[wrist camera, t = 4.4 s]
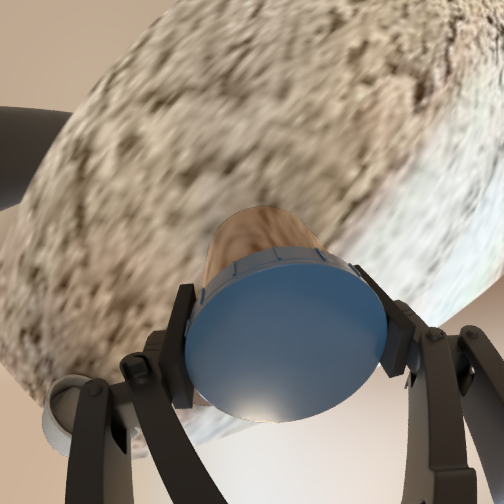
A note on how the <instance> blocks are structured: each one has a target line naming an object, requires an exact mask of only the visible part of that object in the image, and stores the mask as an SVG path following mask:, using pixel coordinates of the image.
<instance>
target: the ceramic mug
mask: <svg viewBox="0 0 504 504" xmlns="http://www.w3.org/2000/svg"><path fill="white" fill-rule="evenodd" d="M89 380H91V378H89V377H86V376H83V375H75V374H71V375H65V376H62V377H60V378H59V379H57V380H56V381H54V382H53V384H52V385H51V386H50V388H49V390H48V392H47V395H46V401H45V405H44V411H43V415H42V428H43V432H44V435H45V437H46V439H47V441H48V443H49V444H50V445H51V446H52V448H53V449H55V450H56V451H57V452H58V453H60V454H61V455H63V456H66V457H68V458H69V452H70V445H71V438H72V431H73V425H74V419H75V414H76V408H77V403H78V398H79V393H80V389H81V387H82V385H83V384H84V383H85V382H87V381H89ZM140 431H141V429H140V426H139V427H135V428H130V432H131V438H134V437H135V436H137V435H138V434H139V433H140Z"/></svg>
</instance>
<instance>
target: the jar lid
mask: <svg viewBox="0 0 504 504" xmlns="http://www.w3.org/2000/svg"><path fill="white" fill-rule="evenodd" d="M361 276H362V275H361V274H360V273H359V272H358V271H357V270H356V269H355V267H354V266H353V265H352V264H351V263H349V264H347V263H346V262H345V261H344V260H342V259H340V258H338V257H337V256H335V255H333V254H330V253H327V252H325V251H322V250H320V249H319V248H317V247H316V248H315V249H314V248H309V247H299V246H288V247H277V248H276V246H273V248H271V249H266V250H262V251H259V252H255V253H252V254H250V255H248V256H245V257H243V258H241V259H239V260H237V261H232V264H230V265H229V266H227V267H226V268H224V269H223V270H222V271H221V272H219V273H218V274H217V275H216V276H215V277H214V278H213V279H212V280H211V281H210V282H209V283H208V284H207V285H206V286H205V288H203V287H202V289H201V293H200V295H199V296H198V298H197V300H196V302H195V304H194V306H193V309H192V312H191V315H190V320H187V325H186V330H185V336H184V337H185V338H186V343H185V349H184V354H185V364H186V368H187V372H188V375H189V378H190V380H191V382H192V384H193V385H194V387H195V389H196V390H197V391H198V392H199V393H200V395H201V396H202V397H203V398H204V399H205V400H206V401H208V402H209V403H210V404H211V405H213V406H214V407H216V408H217V409H219V410H221V411H223V412H225V413H227V414H229V415H232V416H234V417H237V418H240V419H244V420H248V421H254V422H264V423H280V422H289V421H296V420H301V419H304V418H308V417H311V416H314V415H317V414H320V413H322V412H324V411H327V410H329V409H331V408H333V407H335V406H336V405H338V404H340V403H341V402H343V401H344V400H346V399H347V398H348V397H350V396H351V395H352V394H354V393H355V392H356V391H357V390H358V389H359V388H360V387H361V386H362V385H363V384H364V383H365V382H366V381H367V380H368V378H369V377H370V376H371V374H372V373H373V372H374V370H375V369H376V367H377V365H378V363H379V361H380V359H381V357H382V355H383V352H384V349H385V344H386V339H387V319H386V313H385V310H384V308H383V305H382V302H381V301H380V299H379V297H378V296H377V294H376V293H375V292H374V291H373V289H372V288H371V287H370V286H369V285H368V284H367V283H366V282H365V280H364V279H363V278H362V277H361Z"/></svg>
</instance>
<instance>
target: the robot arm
mask: <svg viewBox="0 0 504 504" xmlns="http://www.w3.org/2000/svg"><path fill="white" fill-rule="evenodd" d="M353 266H354V267H355V269H356V270H357V271H358V272H359V273H360V274H361V275H362V276H361V277H362V278H363V279H364V280H365V282H366V283H367V284H368V285H369V286H370V287H371V288H372V289H373V291H374V292H375V293H376V294H377V296H378V297H379V299H380V301H381V302H382V305H383V308H384V310H385V313H386V319H387V339H386V344H385V349H384V352H383V355H382V357H381V359H380V361H379V362H380V364H381V365H382V367H383V369H384V370H385V372H386V373H387V375H388V376H389V378H392V377H395V376H399V375H402V374H404V370H405V367H406V365H407V366H408V368H409V369H410V372H409V375H408V378H407V382H406V385H405V389H406V388H407V386H408V387H409V390H408V391H409V419H408V445H407V460H406V471H405V482H404V489H403V497H402V502H401V504H477V476H476V471H475V469H474V468H469V467H468V464H467V451H466V440H465V430H464V421H463V416H464V419H465V421H466V423H467V426H468V428H469V431H470V433H471V436H472V439H473V441H474V444H475V446H476V449H477V452H478V455H479V458H480V461H481V464H482V467H483V470H484V473H485V476H486V479H487V483H488V486H489V489H490V493H491V496H492V499H493V502H494V504H504V361H503V359H502V358H501V356H500V355H499V353H498V351H497V350H496V349H495V348H494V346H493V344H492V343H491V342H490V340H489V339H488V338H487V336H486V335H485V334H484V332H483V331H482V330H481V329H480V328H478V327H476V326H472V325H467V326H464V327H463V328H462V329H461V331H460V334H459V335H449V336H447V335H446V333H445V332H444V331H443V330H441V329H439V328H436V327H428V326H427V325H426V323H425V322H424V321H423V320H422V319H421V318H420V317H419V316H418V315H416V313H415V312H414V311H413V310H412V309H411V308H410V307H409V306H408V305H407V304H406V303H404V302H402V301H400V300H395V301H393V300H392V299H391V298H390V297H389V296H388V295H387V294H386V293H385V292H384V291H383V290H382V289H381V288H380V287H379V286H378V284H377V283H376V282H375V281H374V280H373V279H372V278H371V277H370V276H369V275H368V274H367V273H366V272H365V271H364V270H363V269H362V268H361V267H360V266H359V265H353ZM195 302H196V295H195V290H194V284H193V283H192V284H182V285H180V287H179V290H178V293H177V296H176V300H175V303H174V307H173V310H172V313H171V317H170V320H169V324H168V327H167V330H161V331H153V332H152V333H151V334H150V336H149V337H148V338H147V341H146V344H145V347H144V351H143V352H136V353H131V354H129V355H127V356H125V357H124V358H123V359H122V360H121V362H120V370H121V372H122V374H123V376H124V379H125V382H122V383H119V384H114V385H110V386H109V384H108V383H107V382H106V380H104V379H101V378H95V379H91V380H89V381H87V382H85V383H84V384H83V385H82V387H81V389H80V393H79V398H78V403H77V408H76V414H75V419H74V425H73V431H72V438H71V445H70V452H69V460H68V470H67V480H66V494H65V504H134V498H133V484H132V467H131V432H130V428H135V427H139V426H141V429H142V432H143V435H144V437H145V440H146V442H147V445H148V448H149V450H150V453H151V455H152V458H153V460H154V462H155V465H156V467H157V469H158V472H159V474H160V476H161V478H162V481H163V483H164V485H165V487H166V489H167V491H168V493H169V495H170V498H171V500H172V502H173V503H174V504H228V503H227V502H226V500H225V499H224V497H223V495H222V494H221V492H220V491H219V489H218V488H217V486H216V485H215V483H214V482H213V480H212V478H211V477H210V475H209V473H208V472H207V470H206V468H205V467H204V465H203V463H202V462H201V460H200V458H199V457H198V455H197V453H196V452H195V449H194V448H193V446H192V444H191V442H190V440H189V438H188V437H187V435H186V433H185V431H184V429H183V427H182V425H181V423H180V421H179V419H178V417H177V415H176V413H175V411H174V409H173V407H172V405H171V404H172V402H173V405H174V407H175V409H187V408H192V406H193V395H194V385H193V384H192V382H191V380H190V378H189V375H188V372H187V368H186V364H185V354H184V349H185V343H186V338H185V337H184V336H185V330H186V325H187V320H190V315H191V312H192V309H193V306H194V304H195ZM472 367H473V368H474V372H475V373H474V372H473V371H472Z"/></svg>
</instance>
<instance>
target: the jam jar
mask: <svg viewBox="0 0 504 504" xmlns="http://www.w3.org/2000/svg"><path fill="white" fill-rule="evenodd" d="M273 246H276V248H277V247H288V246H299V247H309V248H314V249H315V248H316V247H317V248H319V249H320V250H322V251H325V252H327V253H330V252H329V251H328V250H327V249H326V248H325V247H324V246H323V244H322V243H321V242H320V241H319V240H318V239H317V238H316V237H315V235H314V234H313V233H312V232H311V231H310V230H309V229H308V228H307V227H306V226H305V224H304V223H303V222H302V221H301V220H299V219H298V218H297V217H296V216H294V215H293V214H291V213H289V212H287V211H285V210H282V209H280V208H275V207H268V206H260V207H252V208H248V209H245V210H242V211H240V212H238V213H236V214H234V215H232V216H231V217H229V218H228V219H227V220H226V221H224V222H223V223H222V224H221V226H220V227H219V228H218V229H217V231H216V232H215V234H214V235H213V237H212V239H211V242H210V245H209V248H208V254H207V260H206V266H205V272H204V278H203V285H202V287H203V288H205V286H206V285H207V284H208V283H209V282H210V281H211V280H212V279H213V278H214V277H215V276H216V275H217V274H218V273H219V272H221V271H222V270H223V269H224V268H226V267H227V266H229V265H230V264H232V261H237V260H239V259H241V258H243V257H245V256H248V255H250V254H252V253H255V252H259V251H262V250H266V249H271V248H273ZM330 254H331V253H330Z"/></svg>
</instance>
